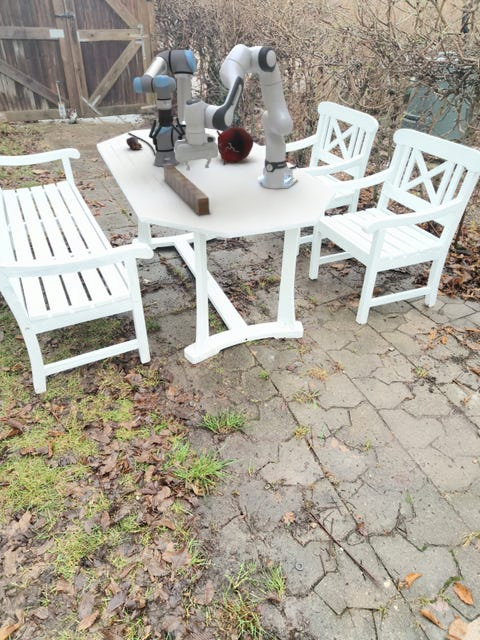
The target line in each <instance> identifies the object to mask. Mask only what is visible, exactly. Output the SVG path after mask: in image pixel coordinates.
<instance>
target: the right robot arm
mask: <svg viewBox="0 0 480 640" xmlns="http://www.w3.org/2000/svg"><path fill="white" fill-rule="evenodd" d="M218 74H219V79H220V81H221V83H222V84H223V85H224V87H225V88H227V89H228V94H227V95H226V98H225V101H224V103H223V104H221V105H213V104H209V103H207V102H204V101H203V100H202V98H201V97H194V98H191V99H189V100H187V101H186V103H185V110H184V114H185V123H186V139H184V140H177V141H176V142H177V143H176V142H175V143H174V152H175V159H176V160H177V161H178V163H183V165H184V166H185V170H186V171H187V172H188V171H191V166H190V165H188V162H190V161H198V160H207V161H206V162H205V163H204V168H205V169H209V168H210V163H211V161H212V159H215V158H216V159H217V158H218V156H219V150H218V146H217V145H218V143H217V142H216V139H217V138H216V137H215V136H214V135H213V134H210V133H206V129H205V128H207V129H212V130H216V131H217V130H218V131H219V132H223V131H226V130H228V129H229V128H232V125H233V122H234V118H235V113H236V111H237V108H238V106H239V103H240V100H241V97H242V95H243V92H244V89H245V83H244V77H245V76H246V74H258V78H259V80H258V81H259V85H260V86H259V87H260V92H261V99H262V102H263V105H264V107H265V110H264V111H263V113H262V114H261V118H260V120H261V121H260V122H261V124H262V128H263V135H264V141H265V159H264V167H263V170H262V175H261V176H258V177H257V180H260V179H261V180H260V183H261V185H262V187H264V188H266V189H274V190H275V189H276V190H277V189H289V188H290V187H291V186H293V185H294V184H295V183H296V182H297V181H298V180H297V178H295V177H294V171H293V170H292V169H295V168H297V167H299V163H298V161H296V162H295V164H296V165H294V166H290V167H289V166H288V163H290V158H286V156H287V143H286V141H285V140H286V139H285V136H288V135H290V134H291V133H292V131H293V130H294V120H293V118H292V117H291V114H290V111H289V107H288V105H287V103H286V98H285V93H284V87H283V80H282V79H283V78H282V74H281V70H280V65H279V62H278V56H277V53H276V50H275V48H273V47H272V46H269V45H255V46H251V47H248V46H247V45H246V44H243V43H239V44H236V45H235V46H234V47H233V48H232V49H231V50H230V52H229V53H228V54H227V56H226V58H225V59H224V60H223V62H222V64H221V65H220V69H219V73H218Z"/></svg>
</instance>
